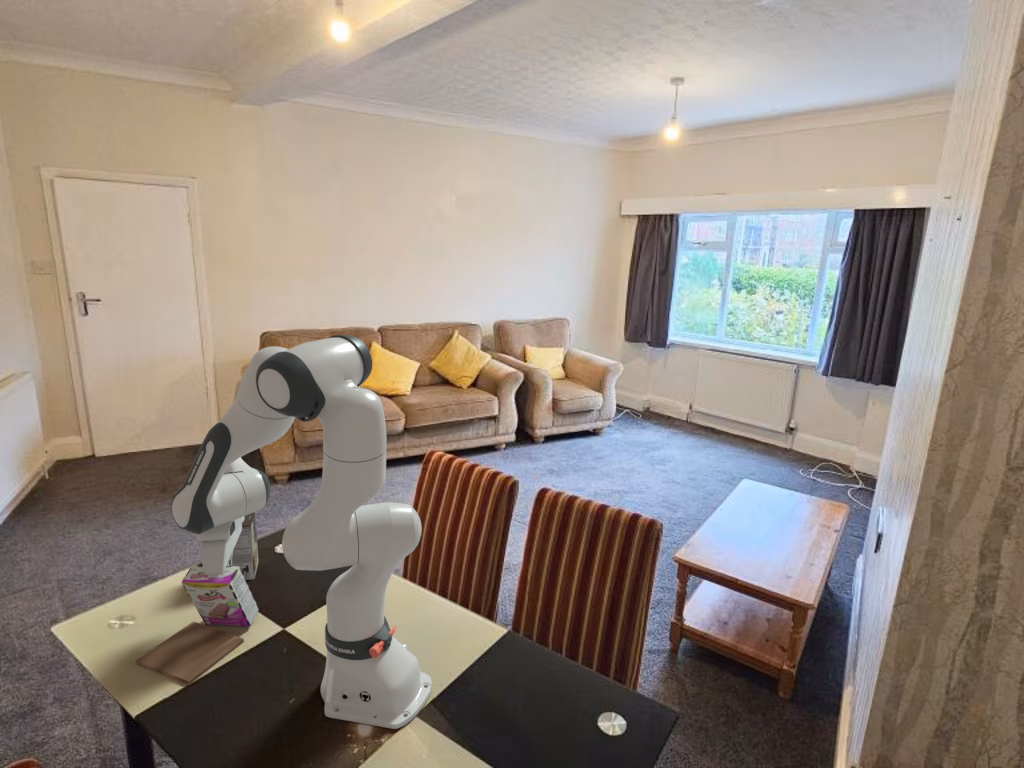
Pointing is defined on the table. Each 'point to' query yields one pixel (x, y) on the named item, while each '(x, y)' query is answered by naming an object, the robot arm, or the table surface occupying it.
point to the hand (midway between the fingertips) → (226, 570)
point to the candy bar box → (221, 596)
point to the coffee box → (247, 548)
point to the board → (190, 652)
